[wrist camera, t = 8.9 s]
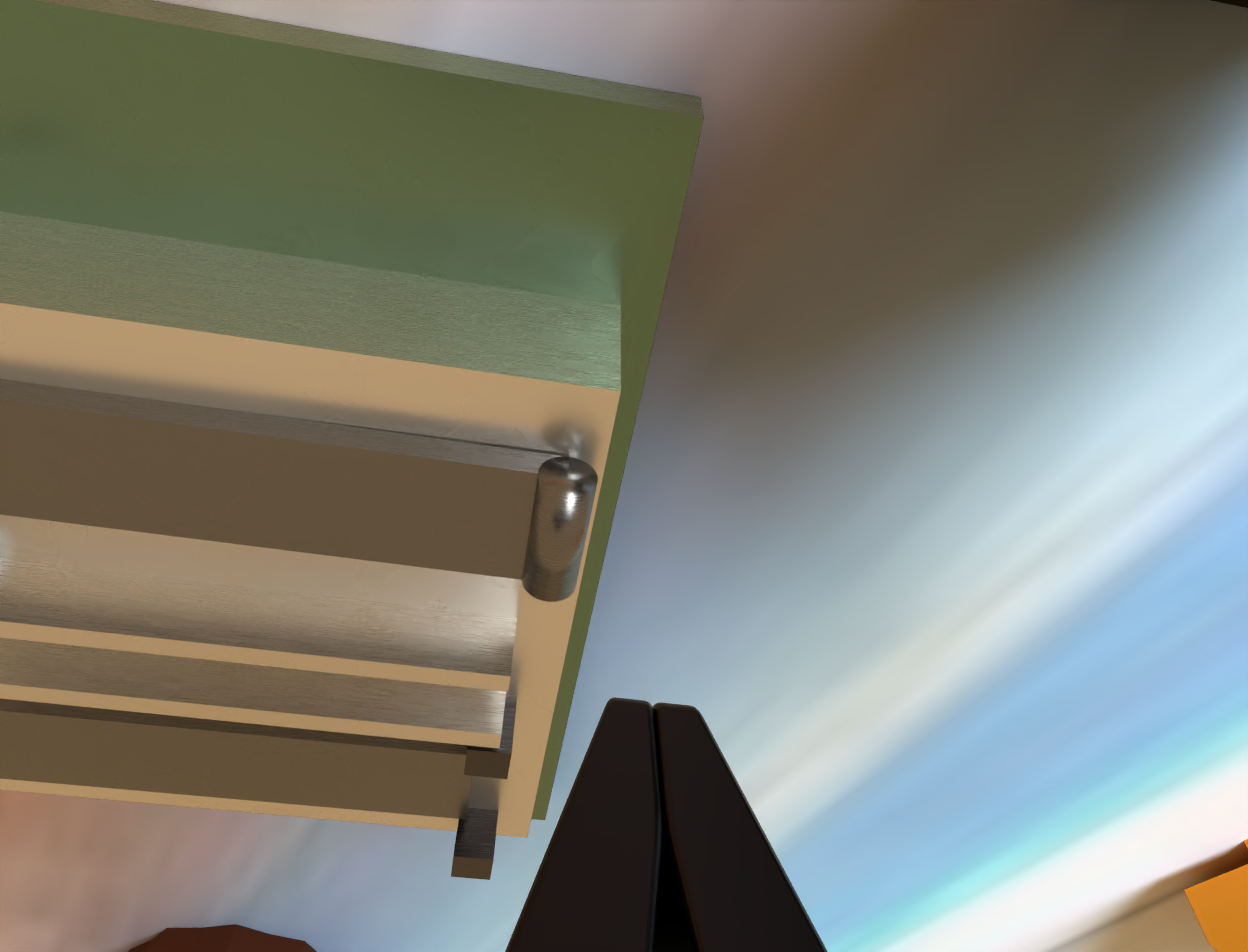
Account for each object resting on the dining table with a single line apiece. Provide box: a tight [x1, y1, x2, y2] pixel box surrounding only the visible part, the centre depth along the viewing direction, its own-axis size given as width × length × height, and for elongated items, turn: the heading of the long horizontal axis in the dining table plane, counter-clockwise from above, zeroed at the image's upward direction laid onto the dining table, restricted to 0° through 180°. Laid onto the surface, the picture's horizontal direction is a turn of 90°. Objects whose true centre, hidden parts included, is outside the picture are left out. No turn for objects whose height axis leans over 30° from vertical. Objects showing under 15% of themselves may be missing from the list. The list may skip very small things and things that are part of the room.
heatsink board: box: [0, 0, 704, 880], centre depth 23 cm, size 16×23×6 cm
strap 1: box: [0, 379, 598, 602], centre depth 19 cm, size 12×3×1 cm, turn 80°
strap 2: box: [0, 698, 472, 819], centre depth 24 cm, size 13×3×1 cm, turn 80°
